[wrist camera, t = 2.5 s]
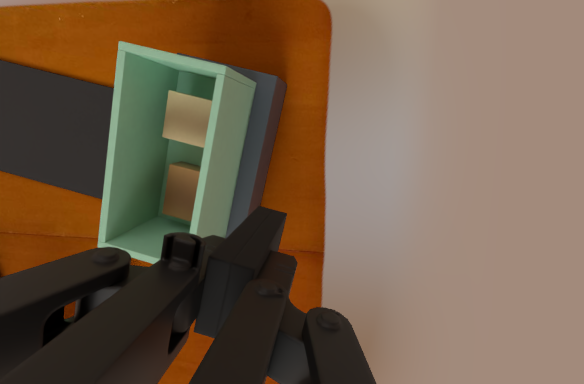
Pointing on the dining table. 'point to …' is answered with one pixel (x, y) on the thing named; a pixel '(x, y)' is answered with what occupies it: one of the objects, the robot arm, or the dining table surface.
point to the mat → (54, 128)
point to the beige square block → (186, 118)
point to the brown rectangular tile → (181, 190)
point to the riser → (255, 142)
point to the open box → (169, 149)
